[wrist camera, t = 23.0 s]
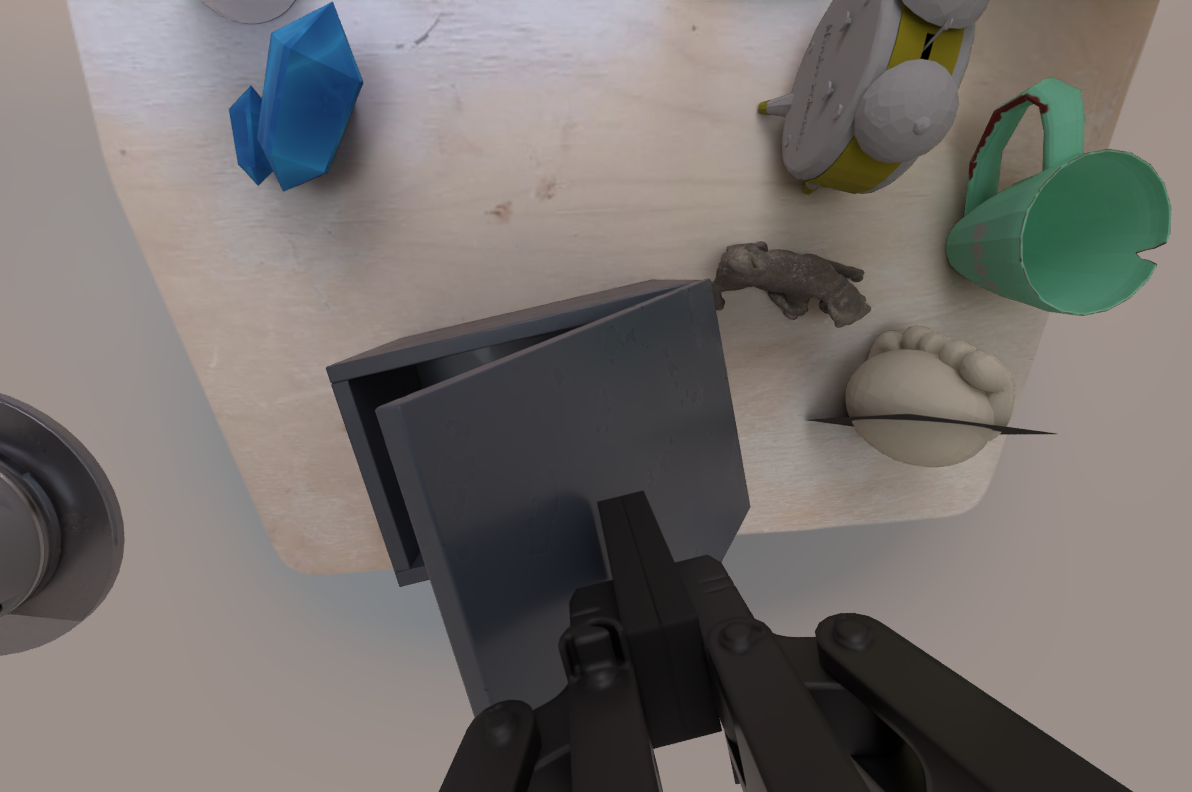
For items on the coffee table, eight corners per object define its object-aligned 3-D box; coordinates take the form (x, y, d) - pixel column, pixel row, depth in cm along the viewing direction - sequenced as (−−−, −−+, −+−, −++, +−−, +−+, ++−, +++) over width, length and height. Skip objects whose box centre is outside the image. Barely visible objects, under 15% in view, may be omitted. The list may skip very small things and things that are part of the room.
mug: (1044, 282, 45) (1181, 283, 35) (929, 325, 45) (1034, 338, 35) (1011, 94, 42) (1152, 38, 32) (888, 140, 42) (991, 97, 32)
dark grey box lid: (524, 878, 14) (550, 890, 14) (372, 408, 12) (398, 405, 11) (736, 506, 31) (750, 507, 31) (695, 281, 29) (710, 278, 28)
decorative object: (811, 330, 46) (922, 347, 47) (800, 454, 45) (914, 468, 46) (917, 290, 34) (1066, 314, 35) (905, 461, 33) (1057, 480, 34)
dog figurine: (690, 303, 43) (718, 309, 36) (711, 228, 42) (744, 217, 35) (833, 339, 44) (887, 351, 37) (856, 267, 43) (917, 265, 36)
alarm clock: (821, 210, 42) (964, 173, 28) (736, 190, 41) (837, 142, 27) (866, 44, 40) (1046, -91, 25) (777, 19, 39) (910, -134, 25)
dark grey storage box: (446, 493, 45) (399, 587, 31) (398, 338, 42) (324, 367, 28) (684, 436, 45) (741, 503, 32) (653, 279, 42) (700, 279, 29)
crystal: (174, 168, 32) (216, -63, 28) (261, 165, 40) (305, -15, 36) (299, 229, 33) (359, 16, 29) (360, 214, 41) (414, 46, 37)
